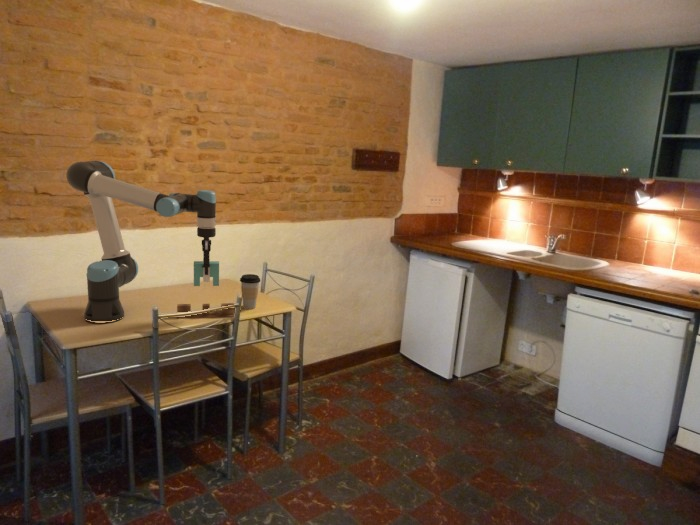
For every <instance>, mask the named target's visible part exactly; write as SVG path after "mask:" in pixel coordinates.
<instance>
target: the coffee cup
mask: <svg viewBox="0 0 700 525" xmlns="http://www.w3.org/2000/svg"><path fill="white" fill-rule="evenodd" d="M239 282H240V284H241V285H240V287H241V298H242V308H243V309H245V308H246V309H245V310H253V309H252V308H254V309H256V307H257V306H256V305H257V300H258V294H259V287H260V286H259V285H260V284H259V283H260V282H261V278H260V276H259V275H257V274H253V273H252V274H251V273H245V274H243V275H242V276H241V277H240V278H239Z"/></svg>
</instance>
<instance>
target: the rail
mask: <svg viewBox="0 0 700 525" xmlns="http://www.w3.org/2000/svg"><path fill="white" fill-rule="evenodd" d="M228 305H234V306H235V303H234V302H231V303H230V302H229V303H228V302H227V303H226V302H225V303H224V302H223V303H221V304H220V308H221V307H222V306H228ZM176 306H177V307H176V311H177V312H188V311H191V312H192V309H191V306H192V305H191V303H177V305H176ZM201 308H202V310H204V309H208V308H210V309H211V305H210V303H202V307H201ZM202 310H201V311H202ZM211 311H212V312H207V313H202V314H197V315H191V316H185V317H177V316H176V319H198V318H199V319H200V318H201V319H204V318H206V319H207V318H234V317H235V307H234V308H228V309H222V310H221V309H220V310H211ZM177 312H176V313H177Z"/></svg>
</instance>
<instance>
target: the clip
mask: <svg viewBox="0 0 700 525" xmlns="http://www.w3.org/2000/svg"><path fill="white" fill-rule="evenodd" d="M203 265H204V261H203V260H202V261H199V260H198V261H196V260H195V261H193V287H201V286H200V285H201V278H203V267H202V266H203ZM209 265H210V278H212V286H213V287H219V286H220V261H216V260H215V261H213V260H212V261H211V260H209Z"/></svg>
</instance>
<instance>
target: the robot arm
mask: <svg viewBox="0 0 700 525" xmlns="http://www.w3.org/2000/svg"><path fill="white" fill-rule="evenodd" d="M65 176H66V180H67V184H68V185H69V186H70V187H71V188H73V189H74V190H76V191H78V192H82V193H83V196H84V197H87V198H88V200H89V203H90V206H91V209H92V214H93V217H94V221H95V225H96V228H97V234H98V236H99V241H100V244H101V248H102V251H103V255H102V256H101V260H99V261H94V262H92V263H90V264H89V265H88V266H87V267H86V281H87V297H88V298H87V299H88V301H87V303H86V304H87V305H86V306H85V311H84V317H83V318H85V319H87V320H91V321H112V320H117V319H120V318H122V317H124V318H125V311H124V310H125V309H124V308H123V306H122V305H123V304H122V302H121V299H120V288H121V287H124V286H125V285H127V284H129V283H131V282H132V281H134V280H135V279H136V277H137V276H138V273H139V265H138V262H137V261H136V260H135V258H133V257H132V256H131V252H130V251H129V250H127V249H126V247H125V244H124V241H123V240H124V239H123V237H122V233H121V227H120V225H119V221H118V217H117V212H116V208H115V205H114V201H113V199H114V200H118V201H121V202H124V203H127V204H131V205H134V206H137V207H139V208H143V209H147V210H150V211H153V212H156V213H157V214H159V215H160V216H162V217H163V218H172V217H174V216H176V215H179V214H181V213H196V225H197V226H196V227H197V228H196V229H197V230H196V233H197V234H196V235H197V236H198V237H199V238H203V239H201V247H202V248H201V250H202V252H203V253H202V254H203V260H202V261H204V265H203V266H202V267H203V277H202V278H203V279H202V282H203V283H210V280H211V277H210V265H209V261H211V260H210V252H211V249H212V248H211V246H212V239H210V238H215V237H216V229H217V228H216V222H217V221H218V219H216V218H217V217H216V215H217V214H216V213H217V212H216V207H217V204H216V203H217V199H216V192H215V191H214V190H210V189H209V190H208V189H200V190H197V192H196V194H190V193H189V194H188V193H180V192H173V193H172V192H171V193H169V194H164V193H161V192H158V191H155V190H151V189H149V188H147V187H146V188H145V187H142V186H139V185H135V184H132V183H128V182H126V181H122V180H120V179H116V173H115V171H114V169H113V168H112V167H111V166H110V164H109V163H106V162H105V161H102V160H101V161H100V160H91V161H90V160H88V161H77V162H74V163H72V164H71V165H69V167H68V168H67V170H66V174H65ZM85 319H84V320H85Z"/></svg>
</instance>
